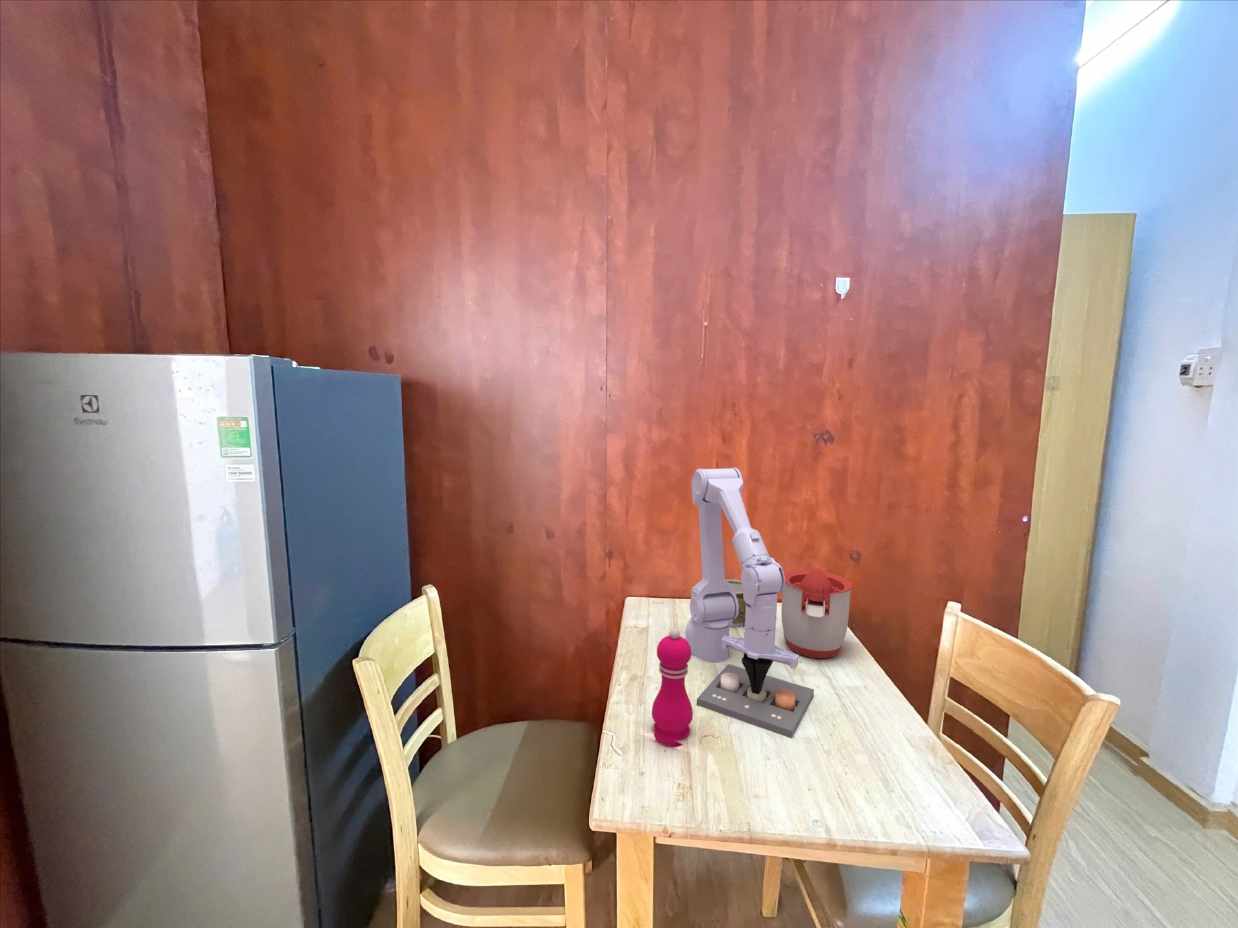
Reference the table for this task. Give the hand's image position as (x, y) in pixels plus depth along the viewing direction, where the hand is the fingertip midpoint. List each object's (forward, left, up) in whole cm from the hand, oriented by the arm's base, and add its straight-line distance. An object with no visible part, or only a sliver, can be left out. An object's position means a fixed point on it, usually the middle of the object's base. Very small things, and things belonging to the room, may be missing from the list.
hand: (756, 691), depth 105 cm
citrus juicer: (+3, +31, -3) cm, 31 cm away
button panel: (0, 0, -3) cm, 3 cm away
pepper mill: (-10, -17, -3) cm, 20 cm away
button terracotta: (+5, 0, -2) cm, 6 cm away
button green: (0, 0, -3) cm, 3 cm away
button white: (-6, 0, -2) cm, 6 cm away
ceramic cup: (-17, +35, -3) cm, 38 cm away
